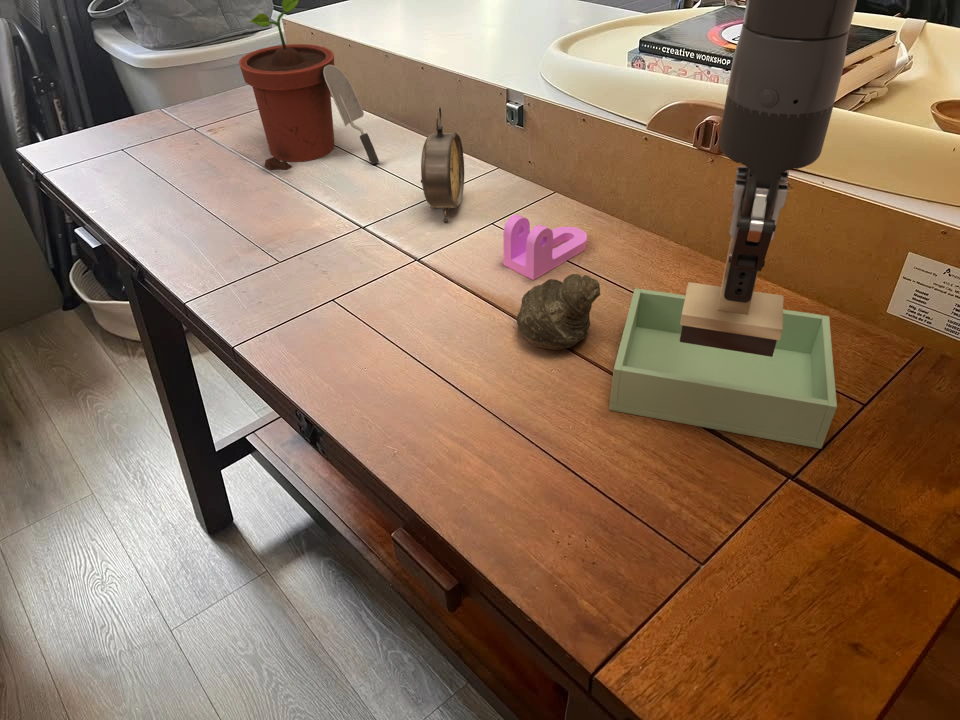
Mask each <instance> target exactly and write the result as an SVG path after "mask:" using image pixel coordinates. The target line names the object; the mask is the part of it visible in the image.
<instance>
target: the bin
mask: <svg viewBox="0 0 960 720" xmlns="http://www.w3.org/2000/svg"><path fill="white" fill-rule="evenodd" d="M685 296H686V294H678V293H672V292H664V291H658V290H651V289H645V288H644V289H643V288H636V287H635V288H634V290H633V294H632V297H631V302H630V305H629V309H628V313H627V316H626V320H625V324H624V328H623V332H622V335H621V339H620V343H619V347H618V351H617V355H616V357H615V358H616V359H615V361H614V366H613V369H612V380H611V388H610V395H609V405H608V410H609V411H611V412H612V411H613V412H617V413H618V412H619V413H623V414H628V415H634V416H641V417H646V418H650V419H656V420H662V421H667V422H673V423H679V424H683V425H688V426H694V427H699V428H705V429H711V430H717V431H721V432H726V433H733V434H737V435H742V436H749V437H754V438H760V439H766V440H769V441H770V440H771V441H776V442H780V443H781V442H782V443H787V444H791V445H799V446H804V447H807V448H808V447H809V448H815V449H820V450H822V449H823V446H824V443H825V441H826V438H827V435H828V433H829V431H830V427H831V424H832V422H833V419H834V416H835V414H836V411H837V409H838V403H837V391H836V377H835V369H834V357H833V355H834V354H833V346H832V344H833V343H832V334H831V322H830V321H831V320H830V315H824V314H818V313H811V312H805V311H798V310H790V309H784V308H783V331H782V334H781V338H780V340H777V342H776V346H775V350H774V353H773V356H772V357H770V356H763V355H757V354H751V353H745V352H739V351H732V350H726V349H720V348H714V347H708V346H701V345H695V344H689V343H683V342H680V336H681V330H682V325H680V322H681V316H682V311H683V306H684V301H685Z"/></svg>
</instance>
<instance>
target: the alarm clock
mask: <svg viewBox="0 0 960 720" xmlns="http://www.w3.org/2000/svg"><path fill="white" fill-rule="evenodd" d="M435 124H436V128H435V130H436V132H433V133H430V134H429V135H428V136H427V137H426V139H425V140H424V142H423V146H422V151H421V158H420V176H421V179H420V183H421V187H422V191H423V195H424V198H425V200H426V202H427V204H428V205H429V206H430V207H429V208H430V209H431V208H435V209H443V218H444V219H443V223H444V224H447V223H448V222H449V221H448V217H449V209H457V208H459V207H460V205H461V203H462V201H463V195H464V189H465V188H464V187H465V157H464V149H463V143H462V139H461V137H460V135H459V133H457V132H443V126H442V109H441V105H440V106H439V105H438V106H437V108H436V116H435Z"/></svg>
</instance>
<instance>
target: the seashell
mask: <svg viewBox="0 0 960 720" xmlns="http://www.w3.org/2000/svg"><path fill="white" fill-rule="evenodd" d="M600 296H601V285H600V283H599V281H598V280H597V279H595V278H593V277H591V276H589V275H588V274H587V275H586V274H584V275H583V276H582V275H580V274H577V273H570V275H568V276H566V277H565V278H563V280H562V281H561V280H558V279H553V278H548V279H547V280H545V281H544V282H543V283H541V284H538V285H535V286H533V287H532V288H531V289H529V290H527V292H526V293H524V294H523V296H522V298H521V305H520V309H519V312H518V313H517V314H516V324H517V332H519V333H520V334H521V336H523V338H524V339H525V340H526V341H528V342H529V343H530V344H531V345H533V346H535V347H537V348H543V349H546V350H553V351H558V350H565V349H569V348H572V347H574V346H575V345H576V344H577V343H580V342H581V341H582V340H583V339H585V338H586V336H587V335H588V332H589V329H590V326H591V320H590V312H591V310H592V306H593V303H594V302H595V301H596V299H598V298H599V297H600Z"/></svg>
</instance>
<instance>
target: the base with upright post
mask: <svg viewBox="0 0 960 720" xmlns="http://www.w3.org/2000/svg"><path fill="white" fill-rule="evenodd" d="M733 241H734V239H733V238H732V237H731V236H730V241H729V244H728V250H727V256H726V258H725V259H726V260H725V265H724V270H723V275H722V280H721V285H720V286H719V285H712V284H705V283H697V282H692V281H691V282H690V281H688V282H687V285H686V292H685V295H686V296H685V301H684V306H683V311H682V316H681V322H680V325H682V330H681V336H680V342H683V343H689V344H695V345H701V346H708V347H714V348H720V349H726V350H732V351H739V352H745V353H751V354H757V355H763V356H770V357H772V356H773V353H774V350H775V346H776V342H777V340H780V338H781V334H782V331H783V309H784V297H785V296H784V295H782V294H775V293H769V292H763V291H762V292H761V291H755V288H756V287H755V286H756V282H757V279H758V278H757V277H758V275H759V274H758V273H759V271H757V275H756V279H755V284H754V288H753V292H752V296H751V300H750V301H749V302H747V303H743V302H736V301H729V300H726V299H725V297H724V292H725V287H726V282H727V277H728V272H729V267H730V263H728V262H729V253H730V252H732V246H733Z"/></svg>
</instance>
